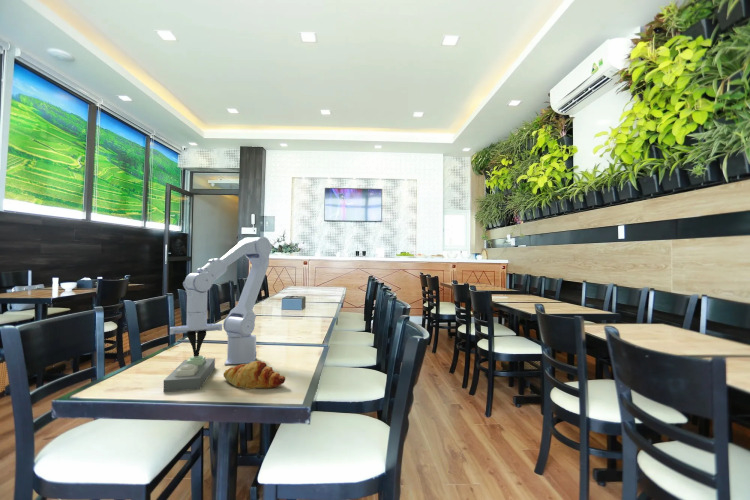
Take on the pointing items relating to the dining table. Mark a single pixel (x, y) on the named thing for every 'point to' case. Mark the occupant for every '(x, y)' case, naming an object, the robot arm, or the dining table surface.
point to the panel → (189, 377)
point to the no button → (187, 370)
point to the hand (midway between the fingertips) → (196, 355)
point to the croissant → (253, 376)
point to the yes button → (196, 360)
